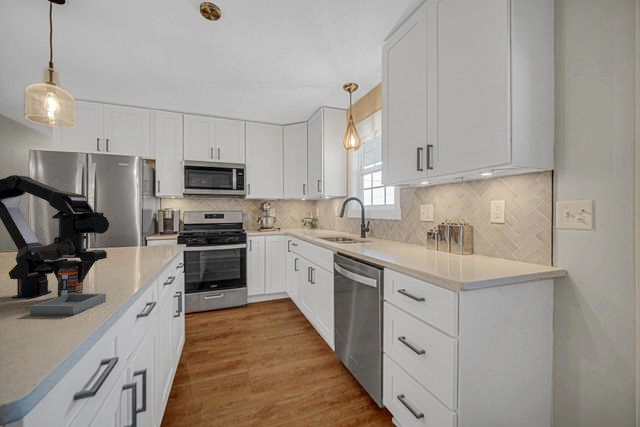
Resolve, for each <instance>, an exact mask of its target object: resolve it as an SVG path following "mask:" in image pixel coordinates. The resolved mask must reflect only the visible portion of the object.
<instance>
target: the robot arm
mask: <svg viewBox="0 0 640 427" xmlns="http://www.w3.org/2000/svg"><path fill="white" fill-rule="evenodd" d="M26 193H27V194H30V195H32V196H34V197H36V198H39V199H42V200H44V201H46V202H47V203H48V204H49V206H50V207H52V208H53V209H55V210H56V211H58V212H57V213H55V214H54V215H53V216H52V217H51V218H52V219H54V220H57V219H58V236H55V237H54V239H53V242H52V243H49V244H46V245H43V244H42V243H40V241H39V240H38V238H37V236H36V235H35V233H34V231H33V229H32V227H31V226H30V224H29V222H28V220H27V218H26V217H25V215H24V213H23V212H22V210H21V209H20V203H21V200H22V196H24V195H25V194H26ZM104 214H105V213H104V211H101V212H100V211H98V212H97V211H95V210H94V209H93V207H92V206H91V204H90V203H89V202H88V198H87V197H86V196H85V195H84V194H80V193H77V192H76V193H75V192H69V191H64V190H59V189H57V188H55V187H53V186H50V185H47V184H45V183H43V182H41V181H38V180H36V179H33V177H30V176H26V175H18V174H17V175H16V174H12V175H9V176H6V177H4V178H0V220H1V222H2V224H3V226H4V227H5V229H6V231H7V232H8V235H9V236H10V238H11V240H12V241H13V244H14V245H15V247H16V249H17V254H16V257H15V261H16V265H15V266H13V267H12V269H11V270H9V271H8V275H9V279H10V280H16V281H17V283H16V285H17V290H16V291H17V294H16V295H12V296H11V298H12V299H33V298H36V297H37V298H38V297H40V296H43V295H47V294H51V293H52V292H53V291H52V290H49V279H48V275H52V274H54V275H55V278H56V280H57V281H58V271H59V269H61V268H62V267H63V261H68V260H69V259H79V261H78V262H74V263H75V264H76V265H77V266H78V281H79V283H81V282H83V283H84V280H85V278H86V277H87V275H88V273H89V272H90V270H91V268H92V267H93V265H94V264H95V263H96V262H97V261H99V260H105V259H108V255H107V254H108V253H107V251H106V250H105V249H92V250H91V249H90V250H87V247H84V240H87V235H84V234H91V235H92V234H95V235H102V234H105V233H107V231H108V229H109V228H110V222H109V220H108V218H107V217H106V216H104Z"/></svg>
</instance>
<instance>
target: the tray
mask: <svg viewBox="0 0 640 427" xmlns="http://www.w3.org/2000/svg"><path fill="white" fill-rule="evenodd" d="M106 302H107V293H104V292H103V293H99V292H97V293H95V292H94V293H90V292H89V293H88V292H87V293H86V292H85V293H84V292H83V293H68V294H65V295H62V296H59V297H58V296H57V297H53V298H51V299H47V300H43V301H42V302H38V303H34V304H32V305H30V316H35V317H36V316H37V317H38V316H39V317H40V316H41V317H42V316H43V317H44V316H45V317H47V316H48V317H49V316H54V317H56V316H57V317H58V316H59V317H60V316H61V317H62V316H63V317H64V316H66V317H71V316H72V317H74V316H76V315H78V314H79V315H80V313H83V312H85V311H87V310H90V309H93V308H95V307H96V306H99V305H101V304H103V303H106Z"/></svg>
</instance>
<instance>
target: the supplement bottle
mask: <svg viewBox="0 0 640 427" xmlns="http://www.w3.org/2000/svg"><path fill="white" fill-rule="evenodd" d="M78 261H80V259H73V260H72V259H71V260H69V259H68V260H67V261H63V267H62V268H61V269H59V271H58V280H57V297H59V296H62V295H65V294H68V293H84V281H83V282H81V283H79V281H78V266H77V265H76V264H75V263H74V262H78Z"/></svg>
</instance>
